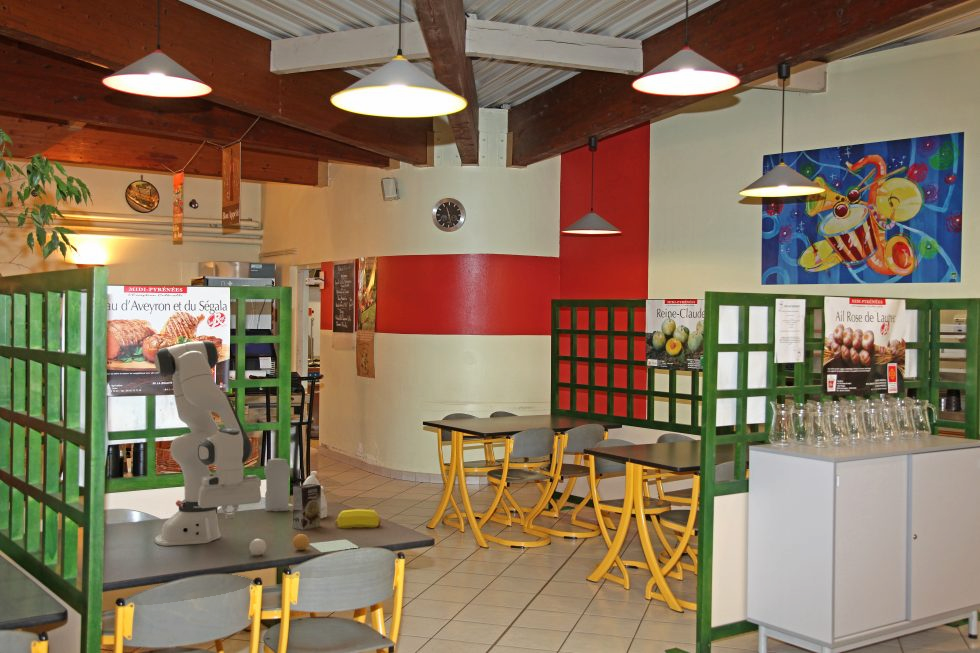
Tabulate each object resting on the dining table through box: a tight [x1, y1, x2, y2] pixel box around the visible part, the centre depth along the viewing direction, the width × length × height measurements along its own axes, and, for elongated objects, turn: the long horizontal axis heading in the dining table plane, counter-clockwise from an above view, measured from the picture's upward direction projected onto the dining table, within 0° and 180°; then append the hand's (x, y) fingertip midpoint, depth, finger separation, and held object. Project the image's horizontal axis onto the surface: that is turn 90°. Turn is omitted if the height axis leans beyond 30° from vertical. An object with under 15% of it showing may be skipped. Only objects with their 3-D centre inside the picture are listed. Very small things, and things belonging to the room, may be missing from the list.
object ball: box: [292, 533, 310, 551], centre depth 311 cm, size 6×6×6 cm
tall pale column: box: [264, 457, 291, 512], centre depth 378 cm, size 11×4×22 cm, turn 96°
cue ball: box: [248, 538, 267, 556], centre depth 303 cm, size 6×6×6 cm
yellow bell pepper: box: [334, 508, 382, 529], centre depth 349 cm, size 18×7×8 cm
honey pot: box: [302, 470, 328, 519], centre depth 367 cm, size 13×13×18 cm
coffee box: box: [292, 484, 322, 531], centre depth 347 cm, size 9×6×16 cm
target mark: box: [308, 539, 359, 554], centre depth 316 cm, size 14×14×1 cm
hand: (230, 518), depth 298 cm, fingers closed
